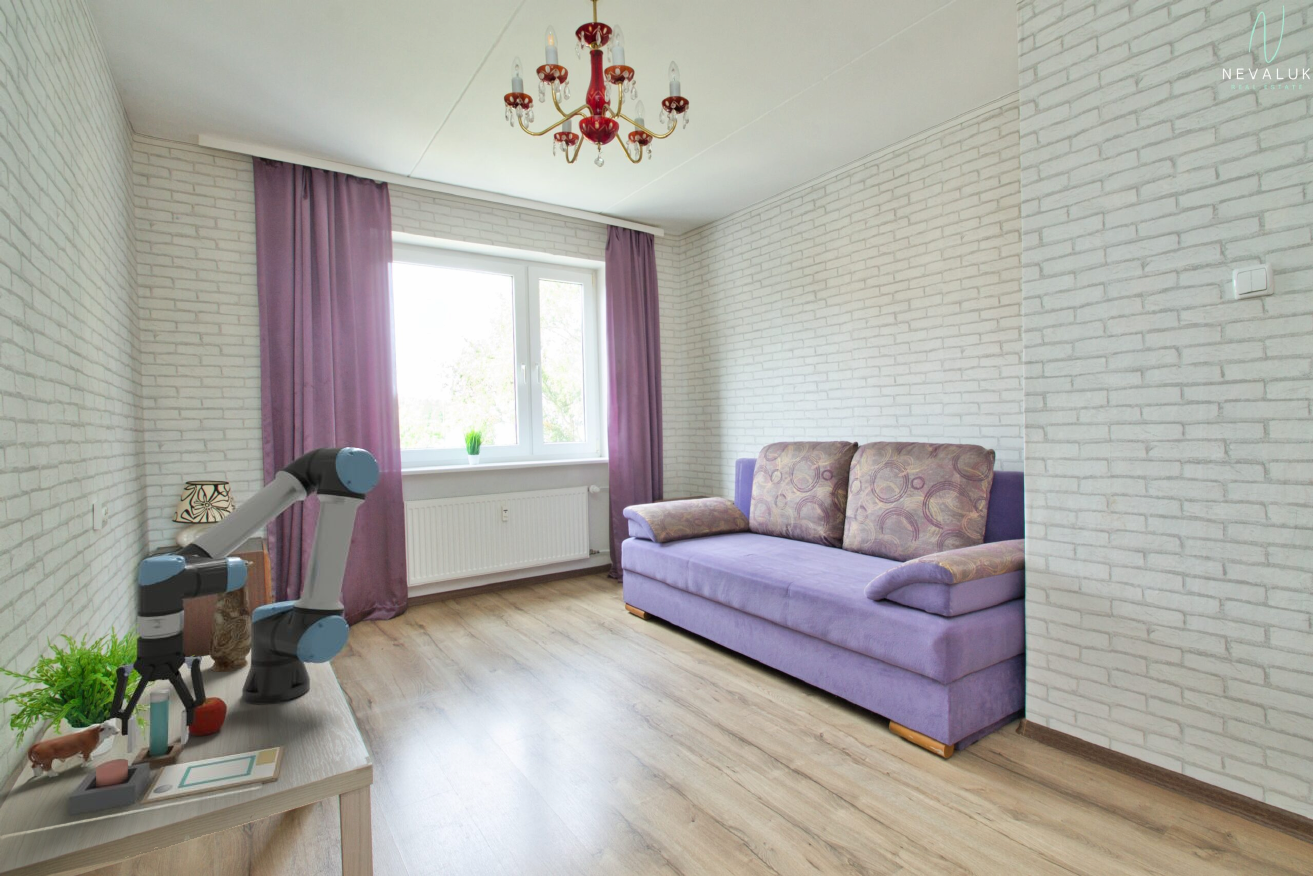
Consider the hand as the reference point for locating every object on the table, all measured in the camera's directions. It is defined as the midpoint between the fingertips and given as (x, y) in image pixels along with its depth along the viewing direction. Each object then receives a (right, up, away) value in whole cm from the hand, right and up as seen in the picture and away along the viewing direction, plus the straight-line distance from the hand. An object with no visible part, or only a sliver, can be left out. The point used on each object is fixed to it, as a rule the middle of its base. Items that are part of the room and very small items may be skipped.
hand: (158, 745), depth 129 cm
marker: (0, -3, 0) cm, 3 cm away
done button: (+2, 0, -13) cm, 14 cm away
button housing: (+2, -3, -13) cm, 14 cm away
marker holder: (0, -3, 0) cm, 3 cm away
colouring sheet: (+16, -3, -5) cm, 17 cm away
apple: (+1, -4, +12) cm, 13 cm away
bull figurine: (-14, -3, -3) cm, 15 cm away
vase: (-22, -4, +55) cm, 59 cm away
